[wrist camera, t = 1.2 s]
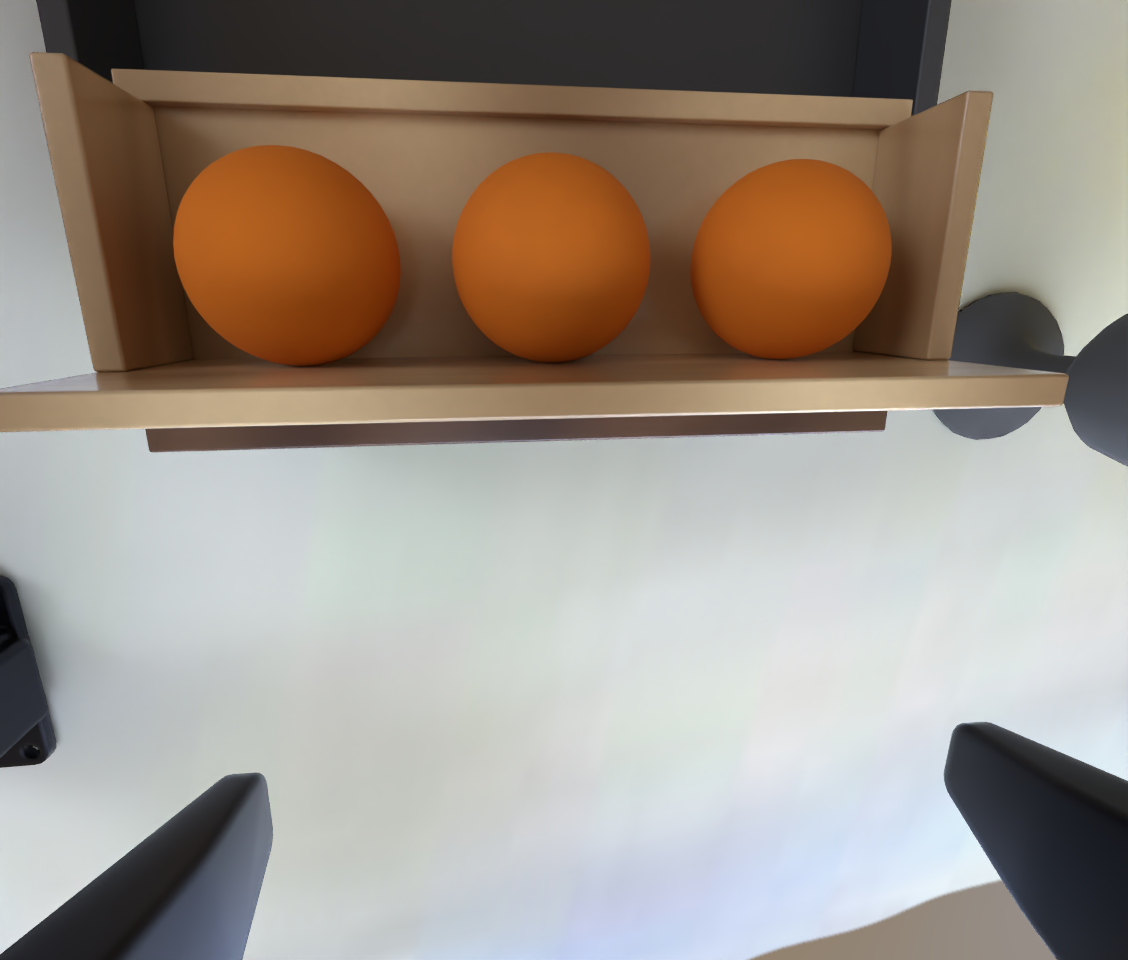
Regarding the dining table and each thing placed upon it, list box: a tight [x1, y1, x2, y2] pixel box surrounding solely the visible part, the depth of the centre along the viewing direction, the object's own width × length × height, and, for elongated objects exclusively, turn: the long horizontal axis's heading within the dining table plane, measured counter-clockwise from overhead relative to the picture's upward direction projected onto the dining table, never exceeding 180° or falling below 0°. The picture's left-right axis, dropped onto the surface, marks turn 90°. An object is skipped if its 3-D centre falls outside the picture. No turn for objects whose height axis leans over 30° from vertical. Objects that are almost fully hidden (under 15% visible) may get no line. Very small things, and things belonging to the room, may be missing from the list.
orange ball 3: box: [690, 159, 892, 359], centre depth 12 cm, size 4×4×4 cm
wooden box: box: [0, 52, 1069, 432], centre depth 10 cm, size 15×6×6 cm, turn 90°
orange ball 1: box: [173, 145, 401, 366], centre depth 11 cm, size 4×4×4 cm
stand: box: [146, 114, 916, 452], centre depth 16 cm, size 17×7×6 cm, turn 90°
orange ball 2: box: [452, 152, 650, 363], centre depth 11 cm, size 4×4×4 cm
